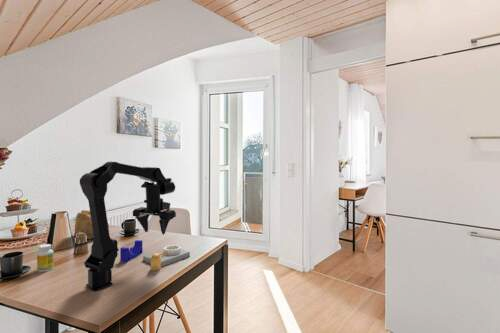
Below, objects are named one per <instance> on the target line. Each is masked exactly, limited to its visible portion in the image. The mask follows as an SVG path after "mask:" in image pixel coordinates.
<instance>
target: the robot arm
mask: <svg viewBox="0 0 500 333" xmlns="http://www.w3.org/2000/svg"><path fill="white" fill-rule="evenodd" d="M116 174H121V175H128V176H133V177H137V178H139V179H141V180H144V182H143V183H142V184H141V185H140V188H144V189H145V199H143V203H145V204H146V207H145V206H144V207H143V206H141V207H138V208H134V209H133V211H132V216H133V217H135V219H137V221H138V222H139V224H140V225H141V227H142V228H143V230H144V232H145V233H148V232H149V217H150V216H156V217H158V218H159V220H158V221H159V222H158V223H159V227H160V232H161V234H162V235H165V233H166V231H167V228H168V224H169V223H170V221H171V220H172V219H174V218H176V217H177V212H176V210H174V209H170V208H171V203H170V202H167V201H164V199H163V197H161V196H164V195H168V194H172V193H174V192H175V190H176V185H175V182H174V181H173V180H172V178H171V177H165V176H164V174H163V172H162V170H161V168H160V167H157V166H156V167H151V166H142V167H141V166H136V165H131V164H126V163H125V164H124V163H120V162H118V161H106V162H105V163H103V164H102V165H100V166H99V167H96V168H95V169H94V168H93V170H91V171H89V172H87V173H84V174H83V175H82V176H81V177H80V178H79V185H80V189H81V191H82V193H83V194H84V196H85V198H86V199H87V201H88V207H89V211H90V214H91V221H92V227H93V234H94V238H93V242H92V244H91V247H90V248H91V253H90V255H89V256H88V257H87V259H86V260H85V261H84V263H83V265H84V267H85V268H86V269H87V284H85V287H87V288H89V289H90V290H91V291H93V292H96V291H99V290H101V289H104V288H106V287H107V288H108V287H109V286H112V285H113V283H114V282H112V281H113V280H112V278H113V277H112V273H113V272H112V269H113V268H114V265H115V262H116V258H118V252H119V251H120V250H119V248H118V240H117V239H113V238H111V236H110V230H109V228H110V227H109V228H108V225H109V222H108V218H107V217H108V216H107V209H106V203H105V197H106V194H107V192H108V184H109V183H110V182H111V181H112V180H113V179H114V178H115V176H116Z"/></svg>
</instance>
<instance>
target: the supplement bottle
mask: <svg viewBox="0 0 500 333" xmlns="http://www.w3.org/2000/svg"><path fill="white" fill-rule="evenodd" d="M38 250H39V251H37V253H36V264H37V265H36V268H37V271H38V273H39V272H42V273H43V272H48V271H51V270H53V269H54V267H55V266H54V264H55V263H54V260H55V258H54V256H55V255H54V250H53V249H52V244H50V243H47V244H40V245H39V246H38Z"/></svg>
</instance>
